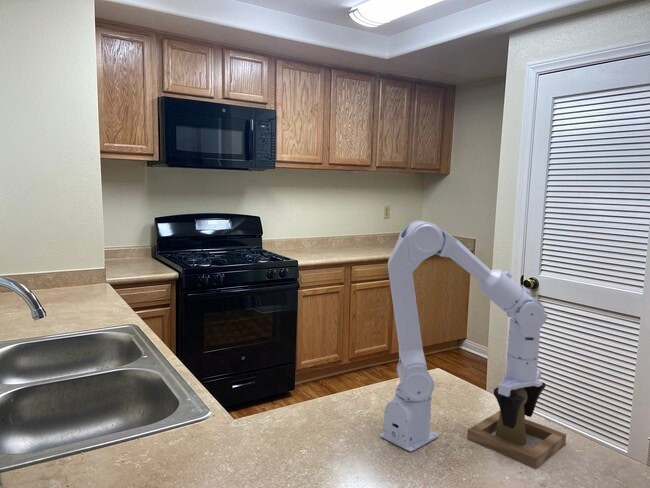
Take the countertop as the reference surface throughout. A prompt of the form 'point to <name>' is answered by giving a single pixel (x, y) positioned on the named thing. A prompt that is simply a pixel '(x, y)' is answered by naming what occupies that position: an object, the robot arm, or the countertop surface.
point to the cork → (519, 431)
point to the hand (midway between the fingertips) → (517, 420)
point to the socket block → (529, 457)
